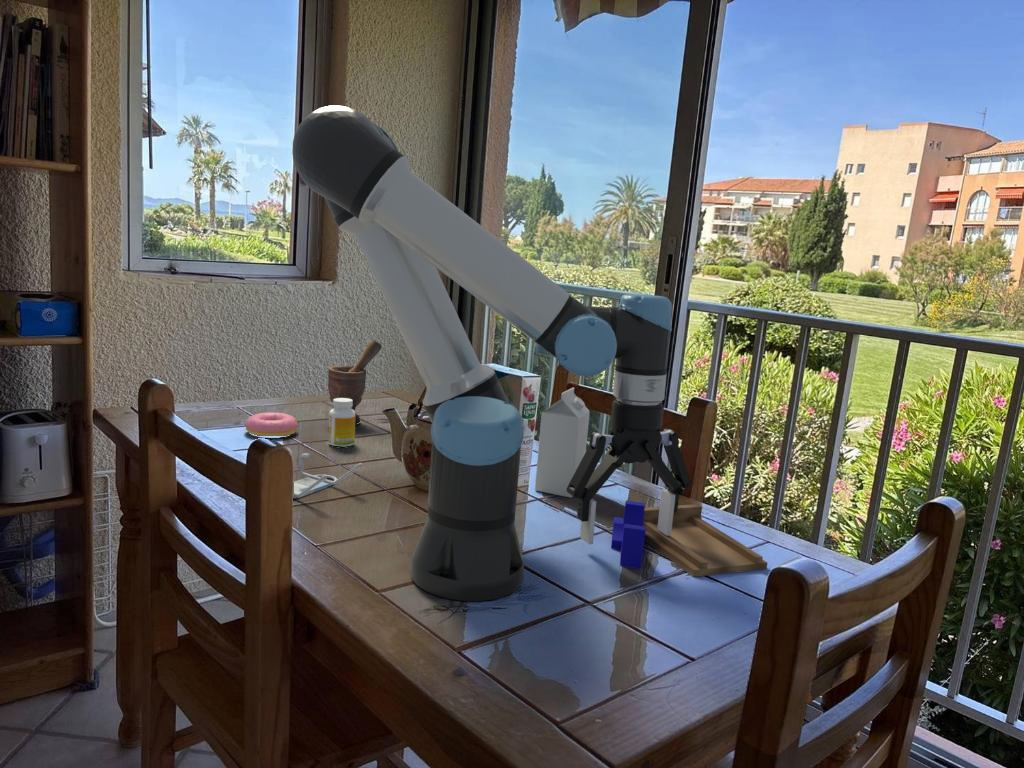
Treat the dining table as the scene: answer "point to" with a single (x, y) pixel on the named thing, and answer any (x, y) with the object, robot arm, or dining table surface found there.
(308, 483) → the wall mount rack
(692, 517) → the tray
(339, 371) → the mortar and pestle
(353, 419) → the supplement bottle
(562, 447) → the milk carton
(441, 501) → the robot arm
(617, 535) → the blue stepped block
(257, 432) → the doughnut
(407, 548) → the dining table surface
